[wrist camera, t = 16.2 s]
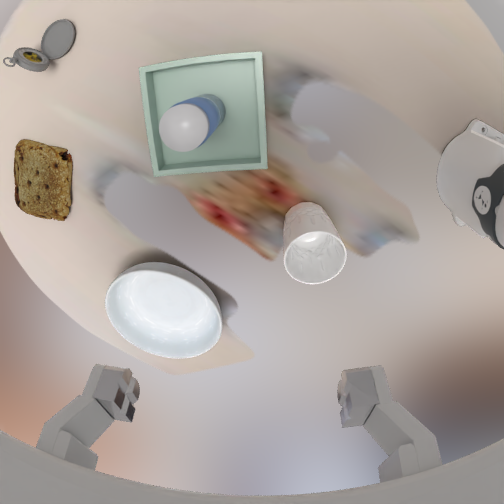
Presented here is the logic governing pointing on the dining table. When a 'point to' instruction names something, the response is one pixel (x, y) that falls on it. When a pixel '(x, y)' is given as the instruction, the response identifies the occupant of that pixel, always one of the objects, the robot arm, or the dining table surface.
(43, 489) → the robot arm
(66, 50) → the pocket watch
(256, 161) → the tray
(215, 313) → the serving bowl
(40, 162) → the pastry
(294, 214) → the white cup
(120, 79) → the dining table surface
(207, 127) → the shaker
